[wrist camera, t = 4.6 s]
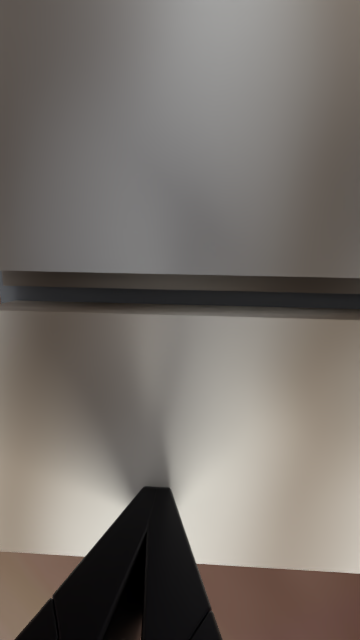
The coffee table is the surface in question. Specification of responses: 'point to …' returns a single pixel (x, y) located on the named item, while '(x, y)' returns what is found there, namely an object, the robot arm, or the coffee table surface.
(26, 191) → the plank
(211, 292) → the underlay mat
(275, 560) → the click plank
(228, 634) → the coffee table surface
